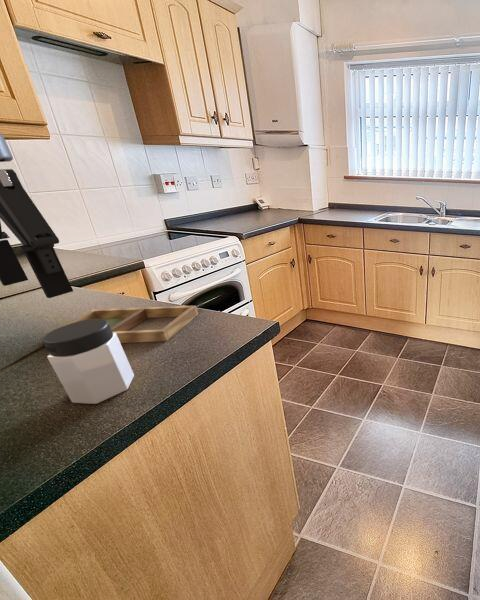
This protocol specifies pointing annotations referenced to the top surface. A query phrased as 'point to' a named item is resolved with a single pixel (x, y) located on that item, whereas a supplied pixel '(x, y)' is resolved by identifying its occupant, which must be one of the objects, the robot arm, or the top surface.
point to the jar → (88, 361)
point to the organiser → (131, 317)
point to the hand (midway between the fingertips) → (37, 288)
